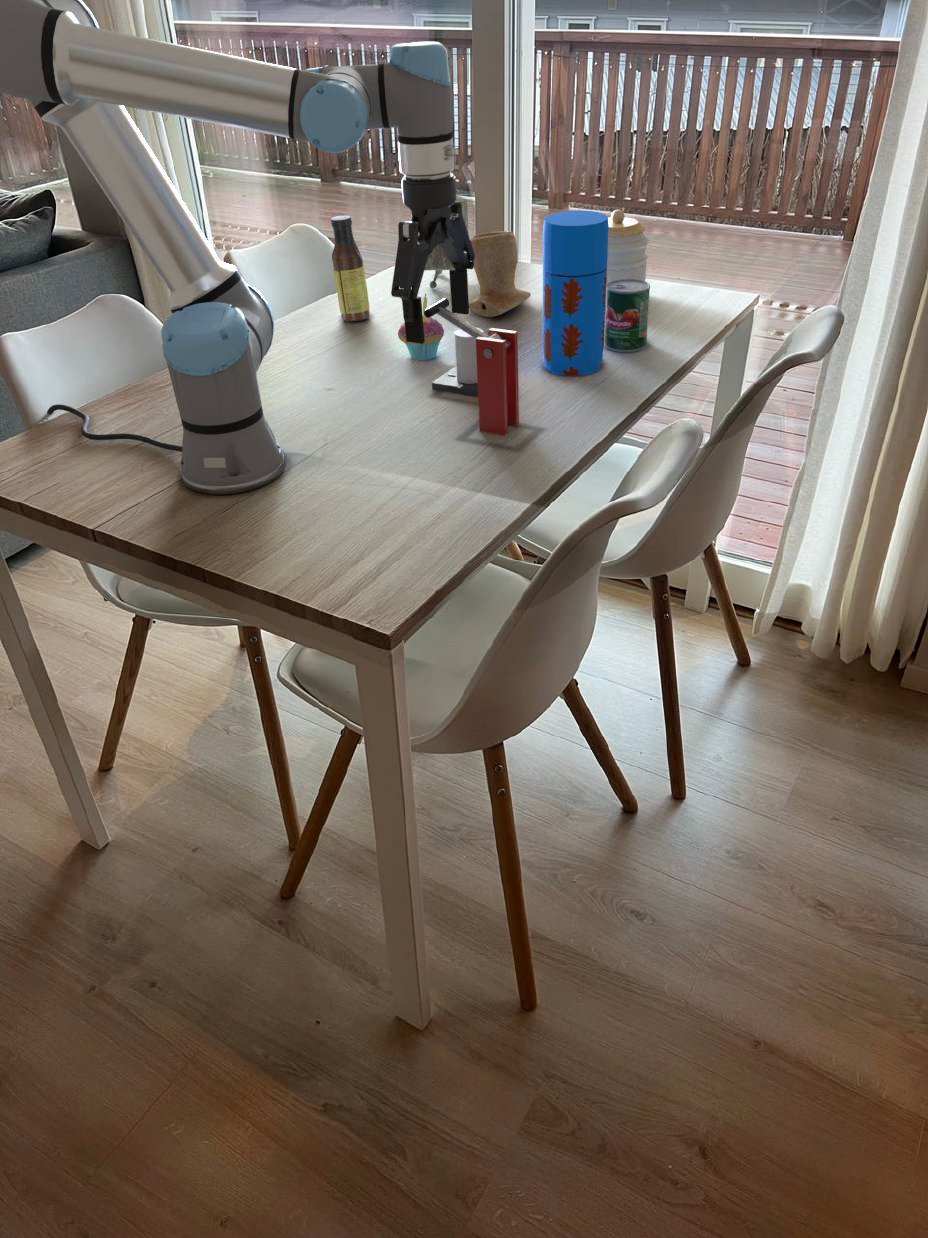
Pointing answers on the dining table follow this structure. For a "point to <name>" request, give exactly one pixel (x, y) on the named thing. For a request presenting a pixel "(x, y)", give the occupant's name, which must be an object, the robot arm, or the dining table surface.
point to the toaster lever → (458, 321)
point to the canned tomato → (626, 315)
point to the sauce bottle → (349, 272)
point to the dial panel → (454, 384)
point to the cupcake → (431, 336)
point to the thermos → (574, 291)
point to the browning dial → (466, 357)
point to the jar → (626, 248)
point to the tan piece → (496, 273)
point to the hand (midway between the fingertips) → (438, 327)
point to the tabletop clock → (438, 257)
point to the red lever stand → (497, 381)
